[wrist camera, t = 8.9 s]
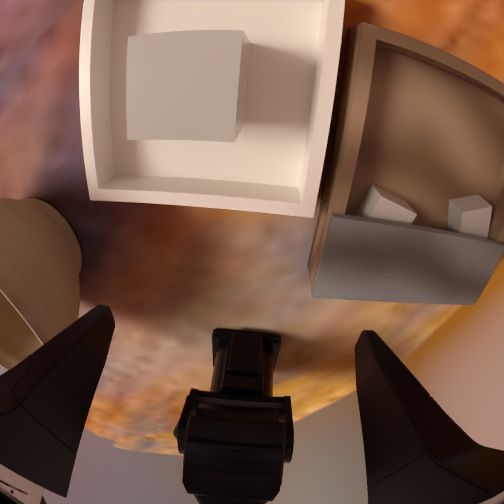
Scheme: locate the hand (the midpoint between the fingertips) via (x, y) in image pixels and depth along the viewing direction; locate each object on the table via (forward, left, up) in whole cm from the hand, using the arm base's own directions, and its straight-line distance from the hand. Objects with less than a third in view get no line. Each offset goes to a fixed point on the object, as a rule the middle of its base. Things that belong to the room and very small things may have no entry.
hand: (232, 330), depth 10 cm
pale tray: (+7, +3, -12) cm, 14 cm away
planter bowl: (-6, +19, -12) cm, 23 cm away
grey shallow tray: (+3, -12, -12) cm, 17 cm away
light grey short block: (0, -9, -11) cm, 14 cm away
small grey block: (+1, -16, -11) cm, 20 cm away
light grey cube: (+7, +3, -11) cm, 14 cm away
